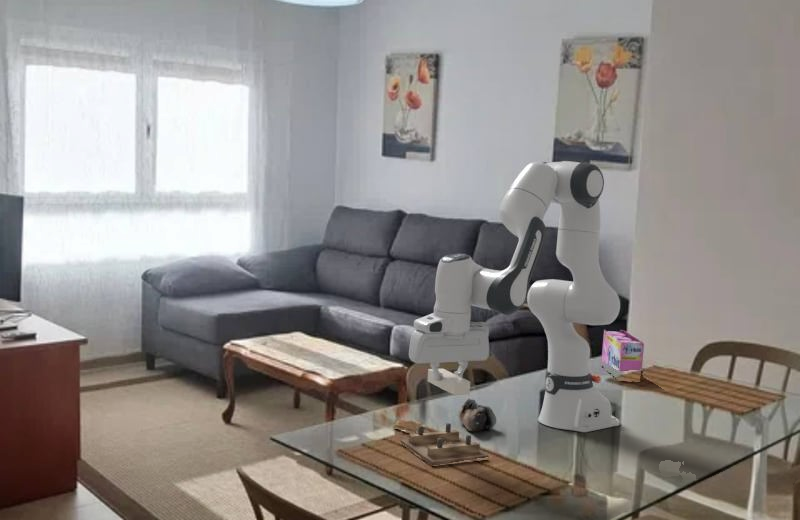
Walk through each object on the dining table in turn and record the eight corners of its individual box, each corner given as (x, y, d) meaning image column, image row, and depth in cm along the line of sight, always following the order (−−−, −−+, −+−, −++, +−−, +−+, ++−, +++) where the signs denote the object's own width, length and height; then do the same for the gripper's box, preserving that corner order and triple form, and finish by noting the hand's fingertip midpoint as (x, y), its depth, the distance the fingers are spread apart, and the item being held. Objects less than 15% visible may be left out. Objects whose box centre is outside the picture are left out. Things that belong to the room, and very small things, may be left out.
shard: (421, 440, 220) (421, 433, 220) (391, 438, 220) (391, 431, 220) (422, 427, 231) (422, 421, 231) (393, 426, 231) (393, 419, 231)
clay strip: (441, 380, 215) (442, 368, 215) (469, 394, 203) (470, 381, 202) (427, 381, 214) (428, 369, 213) (454, 395, 201) (455, 382, 201)
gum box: (599, 365, 314) (601, 328, 312) (620, 366, 314) (623, 329, 313) (618, 382, 290) (621, 342, 289) (641, 383, 291) (644, 342, 289)
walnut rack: (453, 438, 221) (454, 418, 221) (488, 460, 206) (489, 438, 205) (400, 444, 215) (401, 423, 214) (431, 467, 199) (432, 444, 199)
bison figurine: (465, 420, 239) (441, 425, 231) (468, 395, 238) (443, 399, 231) (500, 432, 230) (475, 437, 223) (503, 405, 230) (478, 410, 222)
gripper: (482, 319, 214) (478, 374, 216) (407, 321, 205) (404, 378, 207) (496, 323, 209) (492, 380, 210) (419, 325, 200) (416, 385, 201)
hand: (448, 379), depth 208 cm, fingers closed on clay strip, 4 cm apart
